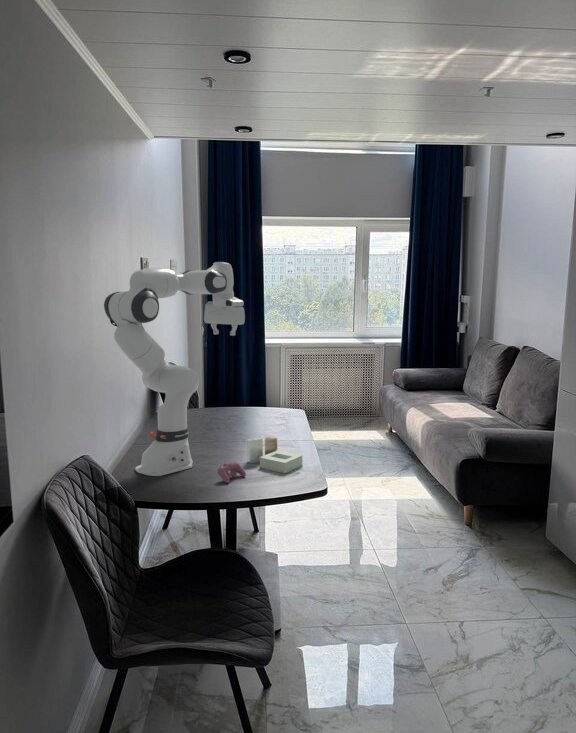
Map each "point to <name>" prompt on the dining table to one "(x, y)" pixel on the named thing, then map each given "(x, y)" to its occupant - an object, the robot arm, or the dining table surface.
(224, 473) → the video game controller
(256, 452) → the grey rectangular block
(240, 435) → the dining table surface
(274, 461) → the slot block
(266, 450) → the round beech peg
